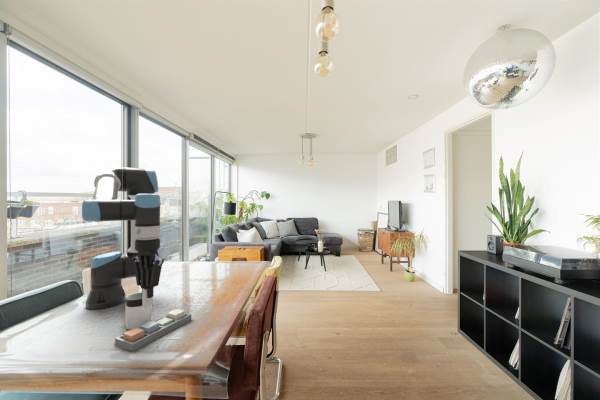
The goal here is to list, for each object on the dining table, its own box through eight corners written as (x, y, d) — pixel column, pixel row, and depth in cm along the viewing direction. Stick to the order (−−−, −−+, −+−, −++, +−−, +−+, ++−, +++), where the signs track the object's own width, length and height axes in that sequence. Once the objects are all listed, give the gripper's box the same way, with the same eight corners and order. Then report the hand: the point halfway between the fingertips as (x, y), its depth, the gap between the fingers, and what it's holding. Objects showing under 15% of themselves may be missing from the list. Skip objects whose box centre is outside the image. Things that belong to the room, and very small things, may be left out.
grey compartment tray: (112, 348, 83) (112, 337, 83) (173, 319, 104) (173, 310, 104) (134, 356, 78) (134, 345, 78) (193, 324, 99) (193, 314, 99)
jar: (120, 334, 92) (120, 301, 92) (129, 324, 100) (129, 293, 100) (147, 331, 94) (147, 299, 94) (154, 321, 102) (155, 291, 102)
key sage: (154, 327, 93) (154, 322, 93) (164, 322, 96) (164, 317, 96) (162, 330, 91) (162, 324, 91) (172, 324, 95) (172, 319, 95)
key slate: (139, 331, 88) (139, 325, 88) (151, 326, 91) (151, 320, 91) (147, 334, 86) (147, 328, 86) (159, 328, 90) (159, 322, 90)
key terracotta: (123, 339, 82) (123, 333, 83) (135, 333, 86) (135, 327, 86) (131, 342, 81) (131, 336, 81) (144, 336, 85) (144, 330, 85)
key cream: (167, 318, 98) (167, 313, 98) (176, 314, 101) (177, 308, 101) (175, 320, 96) (175, 315, 96) (184, 315, 100) (184, 310, 100)
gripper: (124, 238, 87) (123, 308, 87) (151, 240, 82) (150, 314, 82) (144, 236, 94) (144, 300, 94) (170, 237, 89) (170, 305, 89)
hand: (147, 306), depth 88 cm, fingers closed
